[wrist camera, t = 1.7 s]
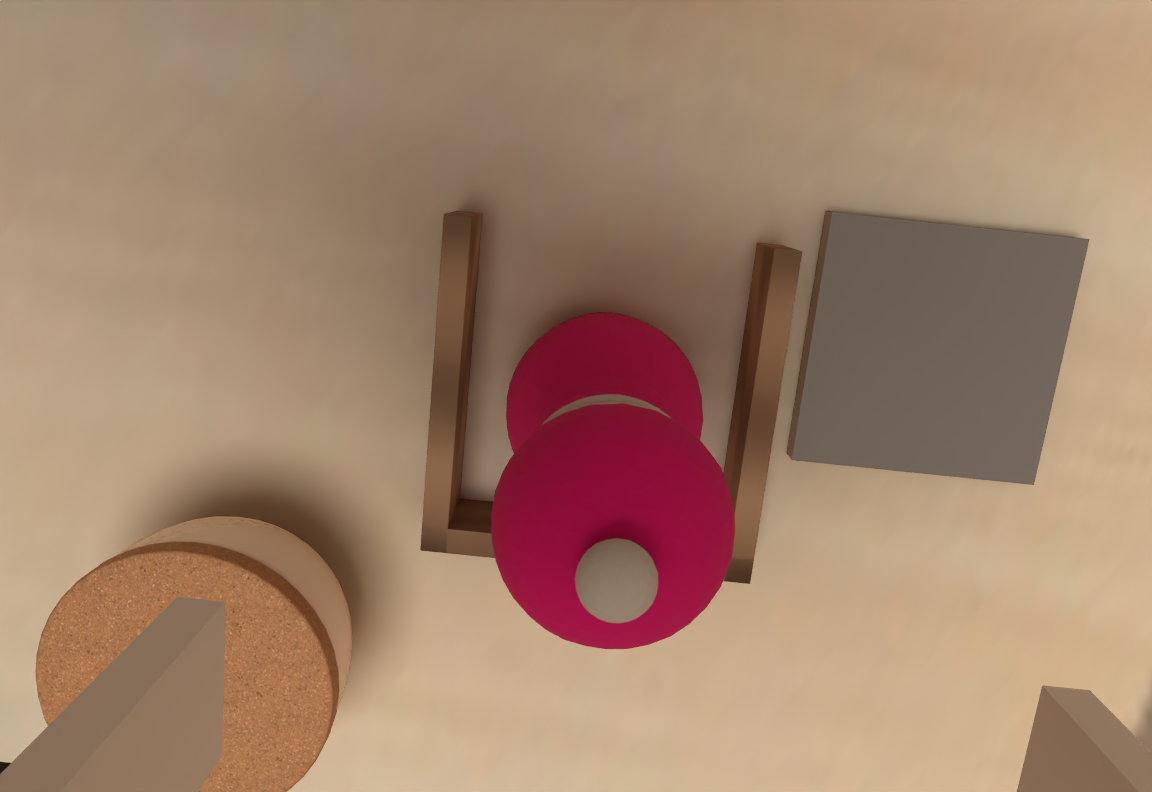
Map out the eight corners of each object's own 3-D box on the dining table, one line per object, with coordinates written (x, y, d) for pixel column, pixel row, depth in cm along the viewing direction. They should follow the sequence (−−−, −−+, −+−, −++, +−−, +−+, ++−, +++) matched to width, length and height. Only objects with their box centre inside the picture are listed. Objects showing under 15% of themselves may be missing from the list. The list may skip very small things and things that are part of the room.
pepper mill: (514, 298, 38) (436, 423, 18) (693, 300, 37) (808, 429, 18) (514, 469, 39) (444, 753, 20) (686, 471, 39) (784, 759, 20)
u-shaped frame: (457, 211, 37) (443, 214, 33) (782, 245, 37) (801, 251, 34) (434, 518, 40) (420, 550, 36) (736, 549, 40) (749, 583, 36)
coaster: (825, 211, 37) (832, 211, 36) (1075, 237, 37) (1089, 239, 36) (786, 452, 39) (791, 459, 38) (1022, 477, 39) (1033, 484, 38)
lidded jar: (101, 509, 40) (-43, 606, 31) (341, 457, 39) (268, 540, 30) (179, 727, 42) (67, 878, 33) (407, 681, 41) (357, 822, 32)
